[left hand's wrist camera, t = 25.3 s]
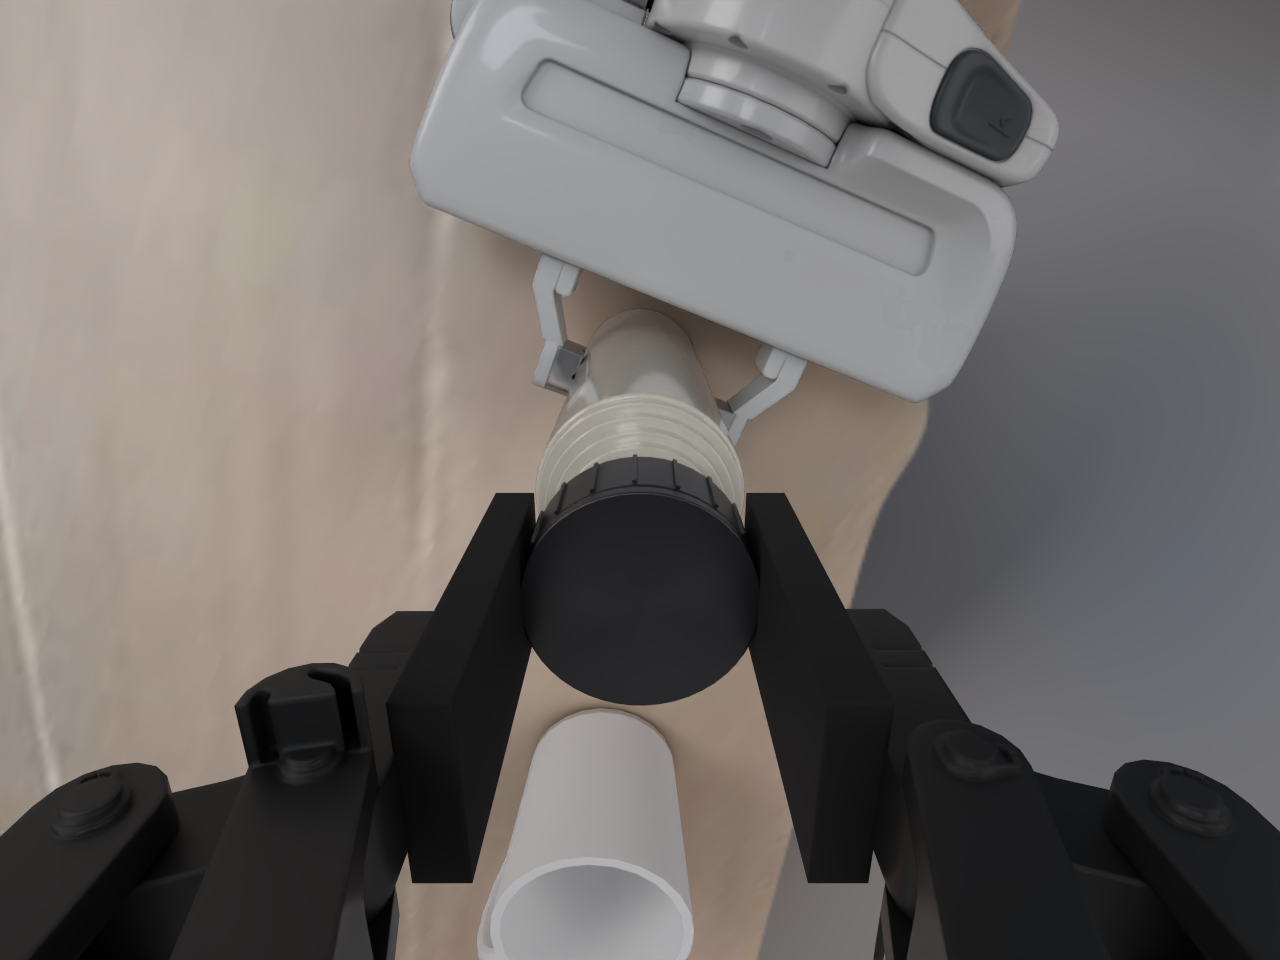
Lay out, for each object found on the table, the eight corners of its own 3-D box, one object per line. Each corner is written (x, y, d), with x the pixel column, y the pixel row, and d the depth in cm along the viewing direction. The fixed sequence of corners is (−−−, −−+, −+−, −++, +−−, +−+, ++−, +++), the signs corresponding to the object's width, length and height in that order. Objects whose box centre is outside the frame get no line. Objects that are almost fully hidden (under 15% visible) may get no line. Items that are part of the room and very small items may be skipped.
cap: (542, 653, 15) (529, 713, 13) (521, 456, 14) (503, 494, 12) (747, 645, 15) (762, 704, 13) (748, 447, 14) (765, 483, 12)
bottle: (571, 402, 34) (475, 664, 14) (601, 294, 32) (538, 418, 12) (676, 432, 34) (726, 725, 14) (710, 328, 32) (820, 498, 13)
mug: (629, 673, 39) (625, 826, 29) (709, 784, 41) (730, 958, 32) (464, 758, 41) (409, 927, 31) (551, 858, 43) (526, 1043, 34)
